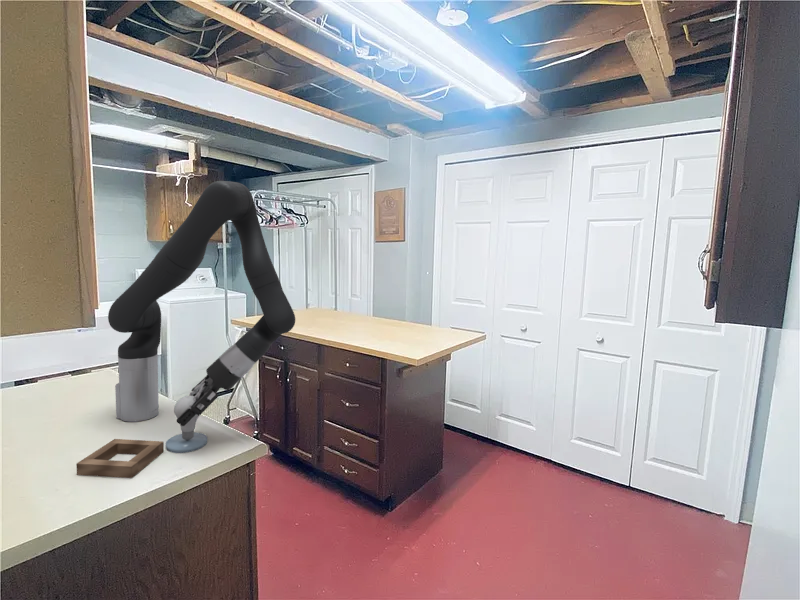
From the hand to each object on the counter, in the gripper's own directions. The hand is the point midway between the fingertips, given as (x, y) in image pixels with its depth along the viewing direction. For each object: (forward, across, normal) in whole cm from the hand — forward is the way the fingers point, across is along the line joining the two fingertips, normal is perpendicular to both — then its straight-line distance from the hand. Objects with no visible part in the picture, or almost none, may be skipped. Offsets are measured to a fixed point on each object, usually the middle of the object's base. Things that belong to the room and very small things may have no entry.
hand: (180, 416), depth 102 cm
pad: (+4, 0, +6) cm, 7 cm away
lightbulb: (+3, 0, +6) cm, 7 cm away
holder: (+13, +5, -3) cm, 14 cm away
